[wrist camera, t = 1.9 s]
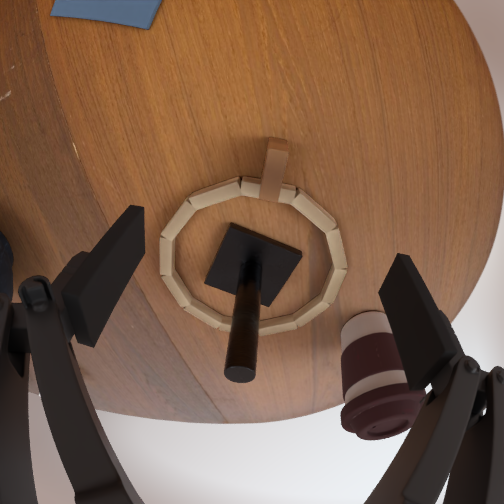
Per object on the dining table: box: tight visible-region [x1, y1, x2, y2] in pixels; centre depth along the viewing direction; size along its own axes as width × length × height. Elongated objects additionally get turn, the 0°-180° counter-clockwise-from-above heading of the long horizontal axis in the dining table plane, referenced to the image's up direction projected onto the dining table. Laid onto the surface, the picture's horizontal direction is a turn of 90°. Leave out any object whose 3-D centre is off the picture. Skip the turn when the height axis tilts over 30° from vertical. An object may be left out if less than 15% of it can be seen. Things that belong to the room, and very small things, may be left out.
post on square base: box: [204, 222, 302, 383], centre depth 28 cm, size 8×8×14 cm
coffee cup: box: [341, 311, 426, 440], centre depth 32 cm, size 10×10×15 cm
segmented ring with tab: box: [159, 137, 348, 336], centre depth 31 cm, size 24×20×4 cm
